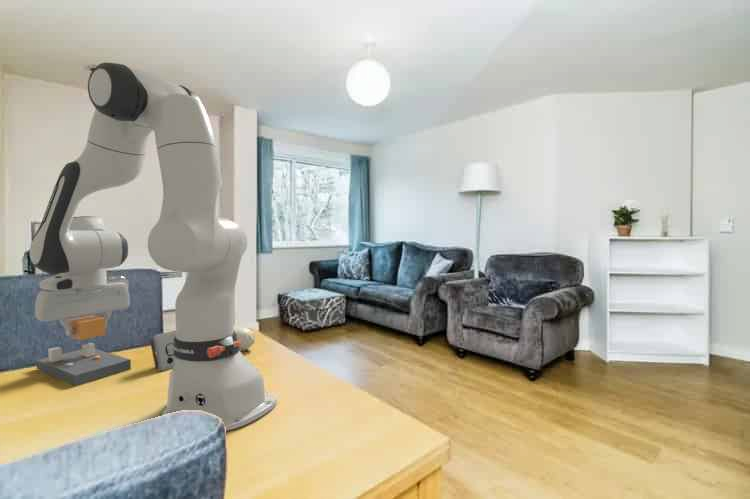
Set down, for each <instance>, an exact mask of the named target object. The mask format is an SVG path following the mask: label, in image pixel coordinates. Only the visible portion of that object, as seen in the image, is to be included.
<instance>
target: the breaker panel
mask: <svg viewBox="0 0 750 499" xmlns="http://www.w3.org/2000/svg"><path fill="white" fill-rule="evenodd" d="M131 361H132V360H131V358H126V357H124V356H120V355H117V354H114V353H111V352H107V351H104V350H101V349H97V348H95V355H93V356H89V357H84V356H82V348H81V349H78V350H77V349H76V350H72V351H68V352H66V353H65V352H64V353H62V360H60V361H56V362H50V361H49V358H48V357H43V358H39V359H36V370H37V369H39V370H40V371H39V370H38V371H39V372H41V371H42V373H45V374H47V375H49V376H51V377H54V378H57V379H58V380H60V381H63V382H65V383H68V384H71V385H72V386H75V387H77V386H80V385H85V384H86V383H87V384H88V383H89V382H93V381H96V380H99V379H100V380H101V379H103V378H107V377H110V376H113V375H117V374H120V373H123V372H126V371H130V370H131V369H132V365H131V363H132V362H131Z"/></svg>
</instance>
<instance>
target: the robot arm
mask: <svg viewBox="0 0 750 499" xmlns="http://www.w3.org/2000/svg"><path fill="white" fill-rule="evenodd" d="M87 92H88V93H87V94H88V97H89V100H90V102H91V103H92V105H93V107H94V108H95V110H94V112H93V115H92V119H91V122H90V126H89V130H88V134H87V141H86V144H85V148H84V149H83V151H82V152H81V154H80V155H79V156H78V157H77V159H75V160H73V161H71V162H68V163H66V164H65V165H64V166H63V168H62V170H61V171H60V174H59V176H58V178H57V180H56V183H55V185H54V187H53V190H52V193H51V195H50V199H49V201H48V204H47V207H46V209H45V211H44V214H43V217H42V219H41V223H40V225H39V227H38V229H37V231H36V232H35V234H34V236H33V238H32V240H31V242H30V246H29V260H30V263H31V265H33V266H34V267H35V268H36V269H37V270H40V271H41V272H43V273H45V274H47V275H53V276H51V277H48V278H44V279H42V280H40V281H39V283H38V286H39V289H41V291H39V292H38V294H37V295H36V297H35V303H34V317H35V319H36V320H38V321H40V322H43V323H47V322H53V321H59V324H61V325H62V327H63V328H64V329H65V335H66V336H68V337H69V336H70V335H74V334H76V332H75V331H76V328H75V327H71V326H70V325H69V324H68V322H70V319H73V318H79V317H85V316H91V315H95V314H101V315H103V318H105V329H107V328H108V322H109V319H111V316H112V314H113V311H118V310H125V309H128V308H129V307H130V304H131V300H130V299H131V298H130V293H129V280H128V279H127V278H126V277H124V276H123V275H118V276H107V269H114V268H116V267H117V268H118V267H120V266H121V265H122V264H123V263H124V262H125V261H126V260H127V258H128V256H129V245H128V244H129V243H128V240H127V239H126V238H125V236H123V235H122V234H121V233H120V232H118V231H114V230H112V229H110V228H108V227H107V226H106V225H105V224H104V223H105V222H104V220H103V219H102V218H100V217H96V216H89V215H88V216H86V215H85V216H84V215H82V216H75V214H76V211H77V209H78V205H79V204H80V202H81V201H82V200H83V199H84V198H86V197H87V196H90V195H91V194H93V193H97V192H100V191H102V190H107V189H112V188H113V189H114V188H117V187H121V186H124V185H127V184H129V183H131V182H133V181H135V179H137V178H138V176H139V175H140V174H141V172H142V169H143V167H144V162H145V157H146V152H147V145H148V139H149V135H150V134H151V133H152V132H154V136H155V145H156V152H157V157H158V163H159V168H160V174H161V181H162V204H161V210H160V215H159V218H158V221H157V222H156V224H155V225H154V226H153V227H152V228H151V230H150V232H149V234H148V238H147V251H148V254H149V256H150V258H151V259H152V260H153V262H154V263H155V264H156V265H158V266H159V267H160V268H162V269H164V270H167V271H173V272H177V273H187V275H186V278H185V281H184V285H183V286H182V288H181V290H180V292H179V293H178V294H177V297H176V298H175V330H176V336H175V337H174V343H173V349H174V356H175V357H176V359H175V363H174V366H173V368H171V371H170V372H169V377H168V378H169V379H168V391H167V403H166V407H165V409H164V410H163V411H162V414H161V416H162V415H164V414H168V413H172V412H176V411H181V410H202V411H205V412H208V413H211V414H214V415H216V416H218V417H220V418H221V419H222V421H223V422H224V425H225V427H226V431H225V432H227V431H232V430H234V429H238V428H241V427H244V426H246V425H249V423H252V422H254V421H256V420H257V419H259V418H261V417H262V416H264V415H266V414H267V413H268V412H270V411H271V410H273V409H274V407H275V406H276V405H277V403H278V402H277V397H276V396H274V395H272V394H271V393H269V392H266V390H265V383H264V378H263V375H262V373H261V372H260V371H259V368H258V367H257V366H254V365H253V364H252V363H251V362H250V361H249V360H248V358H246V356H244V354H243V353H242V351H239V350H240V346H239V345H242V344H243V343H241V344H239V342H241V341H243V339H241V340H238V339H237V336H236V333H235V331H234V298H235V290H236V285H237V280H238V279H237V278H238V274H239V269H240V265H241V261H242V258H243V256H244V254H245V252H246V250H247V248H248V236H247V233H246V231H245V229H243V227H242V226H240V225H239V224H237V223H236V222H235V221H232V220H230V219H228V218H226V217H217V202H218V197H219V196H218V195H219V192H220V191H221V190H222V188H223V179H222V173H221V166H220V161H219V156H218V151H217V150H218V149H217V145H216V139H215V135H214V131H213V128H212V125H211V121H210V119H209V116H208V113H207V111H206V108H205V106H204V105H203V103H202V101H201V99H200V97H199V95H197V94H196V93H195V92H194V91H192V90H191V89H189V88H187V87H185V86H183V85H180V84H176V83H174V82H173V81H170V80H168V79H165V78H163V77H160V76H159V75H157V74H154V73H151V72H148V71H144V70H140V69H137V68H134V67H133V68H132V67H128V66H127V65H125V64H122V63H115V62H101V63H99V64H97V65H96V67H94V69H93V70H92V71H91V72H90V74H89V77H88V81H87Z"/></svg>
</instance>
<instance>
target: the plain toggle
mask: <svg viewBox="0 0 750 499" xmlns="http://www.w3.org/2000/svg"><path fill="white" fill-rule="evenodd" d="M47 349H48V354H47V355H48V358H49V361H50V362H56V361H60V360H62V354H63V352H62V351H63V350H62V349H63V348H62V347H59V346H56V347H53V348H47Z"/></svg>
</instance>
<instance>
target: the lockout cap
mask: <svg viewBox="0 0 750 499" xmlns="http://www.w3.org/2000/svg"><path fill="white" fill-rule="evenodd" d="M67 323H68V324H69V325H70V326H71V327H75V328H76V331H75V332H76V334H74V335H70V336H68V337H69V338H71V339H75V340H79V341H83V340H87V339H91V338H96V337H101V336H106V328H105V318H103V317H102V316H99V315H95V314H91V315H85V316H79V317H73V318H70V322H67Z"/></svg>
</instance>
